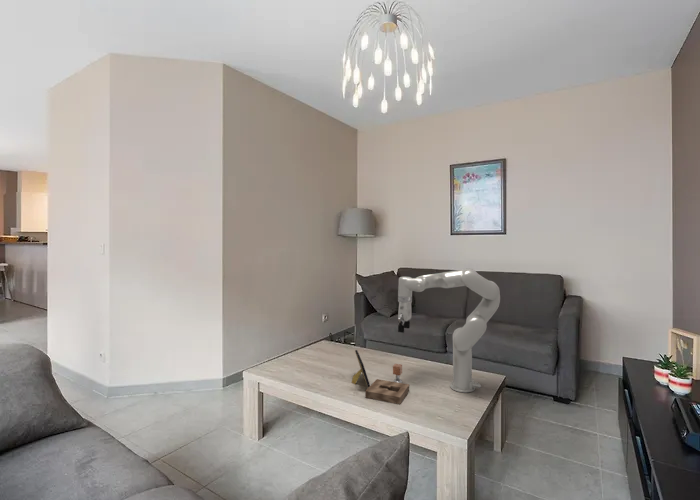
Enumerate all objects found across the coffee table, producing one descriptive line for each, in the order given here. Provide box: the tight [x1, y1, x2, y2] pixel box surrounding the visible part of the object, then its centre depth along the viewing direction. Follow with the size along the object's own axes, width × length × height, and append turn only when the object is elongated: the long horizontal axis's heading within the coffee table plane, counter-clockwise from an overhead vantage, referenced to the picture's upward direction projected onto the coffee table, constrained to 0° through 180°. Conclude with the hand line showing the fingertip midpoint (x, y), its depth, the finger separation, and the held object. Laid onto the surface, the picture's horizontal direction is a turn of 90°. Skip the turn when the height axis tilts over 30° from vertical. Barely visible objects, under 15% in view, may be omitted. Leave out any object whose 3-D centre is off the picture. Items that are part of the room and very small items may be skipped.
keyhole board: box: [364, 378, 410, 405], centre depth 179 cm, size 18×16×4 cm
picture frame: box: [351, 349, 371, 389], centre depth 194 cm, size 23×9×15 cm, turn 7°
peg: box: [392, 363, 403, 383], centre depth 192 cm, size 4×4×10 cm
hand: (403, 330), depth 193 cm, fingers open, 9 cm apart
